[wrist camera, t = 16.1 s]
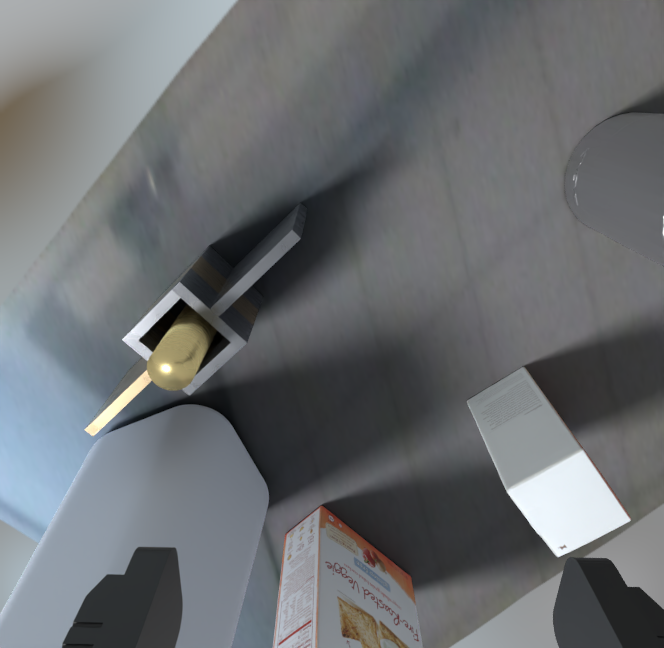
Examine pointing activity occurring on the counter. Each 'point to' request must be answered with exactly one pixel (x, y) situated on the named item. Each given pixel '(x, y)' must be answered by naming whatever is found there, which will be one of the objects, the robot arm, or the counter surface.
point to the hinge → (205, 311)
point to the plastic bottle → (149, 527)
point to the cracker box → (341, 591)
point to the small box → (544, 465)
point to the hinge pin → (181, 351)
